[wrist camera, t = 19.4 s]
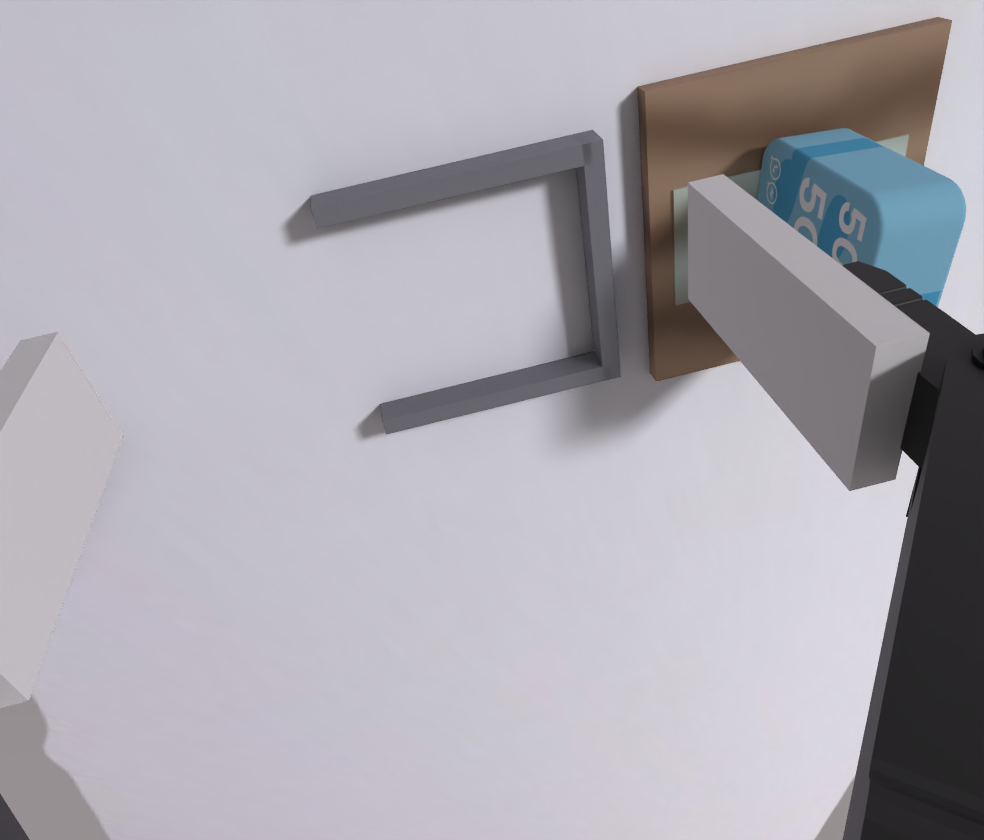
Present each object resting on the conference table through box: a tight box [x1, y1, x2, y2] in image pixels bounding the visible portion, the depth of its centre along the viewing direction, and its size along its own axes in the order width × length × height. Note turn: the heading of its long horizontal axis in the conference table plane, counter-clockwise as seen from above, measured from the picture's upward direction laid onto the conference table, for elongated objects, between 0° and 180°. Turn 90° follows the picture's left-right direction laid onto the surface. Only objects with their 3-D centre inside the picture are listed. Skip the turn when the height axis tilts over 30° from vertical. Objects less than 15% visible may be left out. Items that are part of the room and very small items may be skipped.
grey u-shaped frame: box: [311, 130, 620, 434], centre depth 47 cm, size 16×17×2 cm
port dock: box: [638, 17, 952, 381], centre depth 48 cm, size 20×18×1 cm
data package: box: [757, 128, 966, 307], centre depth 42 cm, size 12×4×12 cm, turn 5°
